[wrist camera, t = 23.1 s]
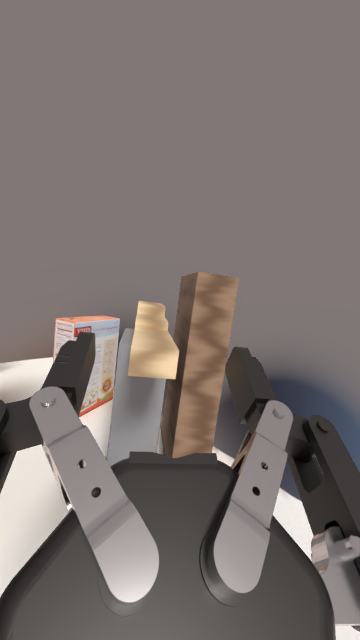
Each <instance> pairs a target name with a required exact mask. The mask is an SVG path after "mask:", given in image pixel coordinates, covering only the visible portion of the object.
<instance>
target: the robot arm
mask: <svg viewBox="0 0 360 640" xmlns="http://www.w3.org/2000/svg"><path fill="white" fill-rule="evenodd" d="M95 354H96V350H95V333H90V332H80V333H79V335H78V338H77V340H76V341H72V340H68V341H67V342H66V343H65V344H64V345H62V346H61V348H60V350H59V352H58V354H57V356H56V359H55V361H54V363H53V365H52V367H51V369H50V371H49V373H48V376H47V378H46V380H45V382H44V384H43V386H42V388H41V389H40V390H39V391H37V392H36V393H35V394H34V395H33V396H32V397H30V398H28V399H25V400H21V401H17V402H12V403H7V404H5V403H4V402H3V401H2V400H0V493H1V490H2V488H3V485H4V483H5V480H6V477H7V475H8V472H9V470H10V467H11V465H12V462H13V460H14V457H15V454H16V452H17V451H19V450H23V449H26V448H30V447H33V446H37V445H40V444H41V445H42V447H43V450H44V452H45V454H46V457H47V459H48V462H49V464H50V467H51V469H52V471H53V474H54V476H55V479H56V482H57V485H58V487H59V490H60V492H61V495H62V497H63V500H64V502H65V505H66V507H67V509H68V512H69V513H68V514H67V516H66V517H65V518H64V519H63V520H62V521H61V523H60V524H59V525H58V526H57V527H56V529H55V530H54V531H53V532H52V533H51V534H50V536H49V537H48V538H47V539H46V540H45V542H44V543H43V544H42V545H41V546H40V547H39V549H38V550H37V551H36V552H35V553H34V554H33V556H32V557H31V558H30V559H29V560H28V562H27V563H26V564H25V565H24V566H23V567H22V569H21V570H20V571H19V572H18V573H17V575H16V576H15V577H14V578H13V579H12V581H11V582H10V583H9V585H8V586H7V588H6V589H5V591H4V592H3V594H2V596H1V597H0V640H336V636H335V626H352V627H353V628H354V629H356V630H357V631H359V632H360V473H359V471H358V469H357V467H356V465H355V463H354V462H353V460H352V458H351V456H350V454H349V453H348V451H347V449H346V447H345V445H344V443H343V442H342V440H341V438H340V436H339V434H338V433H337V431H336V429H335V427H334V426H333V424H332V423H331V422H330V421H329V420H327V419H326V418H324V417H322V416H320V415H311V416H310V417H309V418H308V419H305V418H302V417H299V416H297V415H294V414H292V413H291V411H290V409H289V408H288V407H287V406H286V405H284V404H283V403H281V402H279V401H277V399H276V396H275V394H274V392H273V390H272V387H271V385H270V383H269V381H268V379H267V376H266V374H265V373H264V369H263V367H262V365H261V363H260V362H259V361H258V360H257V359H256V358H255V357H252V356H251V354H250V352H249V349H248V348H243V347H234V348H233V350H232V352H231V355H230V357H229V359H228V362H227V364H226V369H225V370H226V371H225V372H226V377H227V380H228V384H229V387H230V391H231V395H232V398H233V402H234V405H235V409H236V412H237V416H238V420H239V423H240V424H247V426H248V429H249V430H248V432H247V434H246V436H245V439H244V441H243V443H242V445H241V447H240V450H239V452H238V454H237V457H236V459H235V461H234V462H233V464H232V466H231V467H229V466H228V465H226V464H225V463H223V462H221V461H218V460H217V456H216V453H193V454H190V455H186V456H182V457H179V458H171V457H167V456H164V455H161V454H157V453H154V452H134V451H130V454H129V458H127V459H123V460H121V461H119V462H117V463H115V464H113V465H112V466H109V464H108V462H107V460H106V459H105V457H104V455H103V453H102V452H101V450H100V448H99V446H98V444H97V443H96V441H95V439H94V437H93V436H92V434H91V432H90V430H89V429H88V427H87V426H86V425H85V426H84V425H83V424H82V423H81V421H80V419H79V414H80V411H81V407H82V404H83V400H84V397H85V393H86V390H87V386H88V383H89V380H90V376H91V373H92V369H93V366H94V362H95ZM316 458H317V460H318V462H317V460H316ZM287 459H288V462H289V465H290V468H291V471H292V474H293V477H294V480H295V483H296V486H297V489H298V492H299V494H300V497H301V500H302V503H303V506H304V509H305V512H306V515H307V518H308V521H309V524H310V526H311V529H312V532H313V535H314V537H313V539H312V542H311V551H312V554H311V560H312V561H311V560H310V559H309V558H308V556H307V555H306V554H305V553H304V552H303V551H302V549H301V548H300V547H299V546H298V545H297V543H296V542H295V541H294V540H293V539H292V537H291V536H290V535H289V534H288V533H287V532H286V530H285V529H284V528H283V527H282V526H281V524H280V523H279V522H278V521H277V520H276V518H275V517H274V516H273V511H274V507H275V503H276V499H277V495H278V491H279V487H280V484H281V480H282V476H283V472H284V468H285V464H286V460H287ZM318 463H319V464H318ZM319 465H320V466H319ZM320 467H321V469H320ZM321 470H322V471H321ZM322 472H323V473H322Z"/></svg>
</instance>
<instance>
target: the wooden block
mask: <svg viewBox="0 0 360 640" xmlns="http://www.w3.org/2000/svg"><path fill="white" fill-rule="evenodd" d="M238 283H239V278H235V277H228V276H222V275H215V274H209V273H202V272H196V273H192V274H189V275H186V276H182V277H181V285H180V292H179V300H178V309H177V315H176V323H175V330H174V338H173V341H174V343H175V344H176V346H177V348H178V349H179V357H178V364H177V372H176V379H168V383H167V391H166V399H165V406H164V415H163V421H162V429H161V434H162V442H163V449H164V456H167V457H171V458H179V457H182V456H186V455H190V454H193V453H212V447H213V440H214V434H215V428H216V422H217V416H218V408H219V403H220V397H221V390H222V384H223V378H224V371H225V365H226V358H227V352H228V345H229V339H230V333H231V327H232V321H233V314H234V308H235V302H236V295H237V288H238Z"/></svg>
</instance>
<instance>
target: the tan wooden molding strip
mask: <svg viewBox="0 0 360 640" xmlns="http://www.w3.org/2000/svg"><path fill="white" fill-rule="evenodd" d="M164 316H165V306H164V305H162V304H159V303H152V302H144V301H139V303H138V311H137V317H136V324H135V330H134V335H133V340H132V345H131V353H130V362H129V370H128V376H137V377H151V378H164V379H176V372H177V364H178V357H179V349H178V348H177V346H176V344H175V343H174V341H173V339H172V338H171V336H170V334H169V333H168V321H167V320H166V319H165V317H164Z"/></svg>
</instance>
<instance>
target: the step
mask: <svg viewBox="0 0 360 640" xmlns="http://www.w3.org/2000/svg"><path fill="white" fill-rule="evenodd" d="M134 330H135V329H128V328H126V329H125V331H124V334H123V336H122V338H121V341H120V343H119V353H118V361H117V371H116V380H115V389H114V398H113V408H112V417H111V426H110V436H109V445H108V454H107V462H108V464H109V466H112V465H113V464H115V463H117V462H119V461H121V460H123V459H127V458H129V454H130V451H134V452H154V453H156V451H157V444H158V436H159V428H160V421H161V413H162V405H163V398H164V390H165V382H166V379H164V378H151V377H137V376H128V370H129V362H130V353H131V345H132V340H133V335H134Z"/></svg>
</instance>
